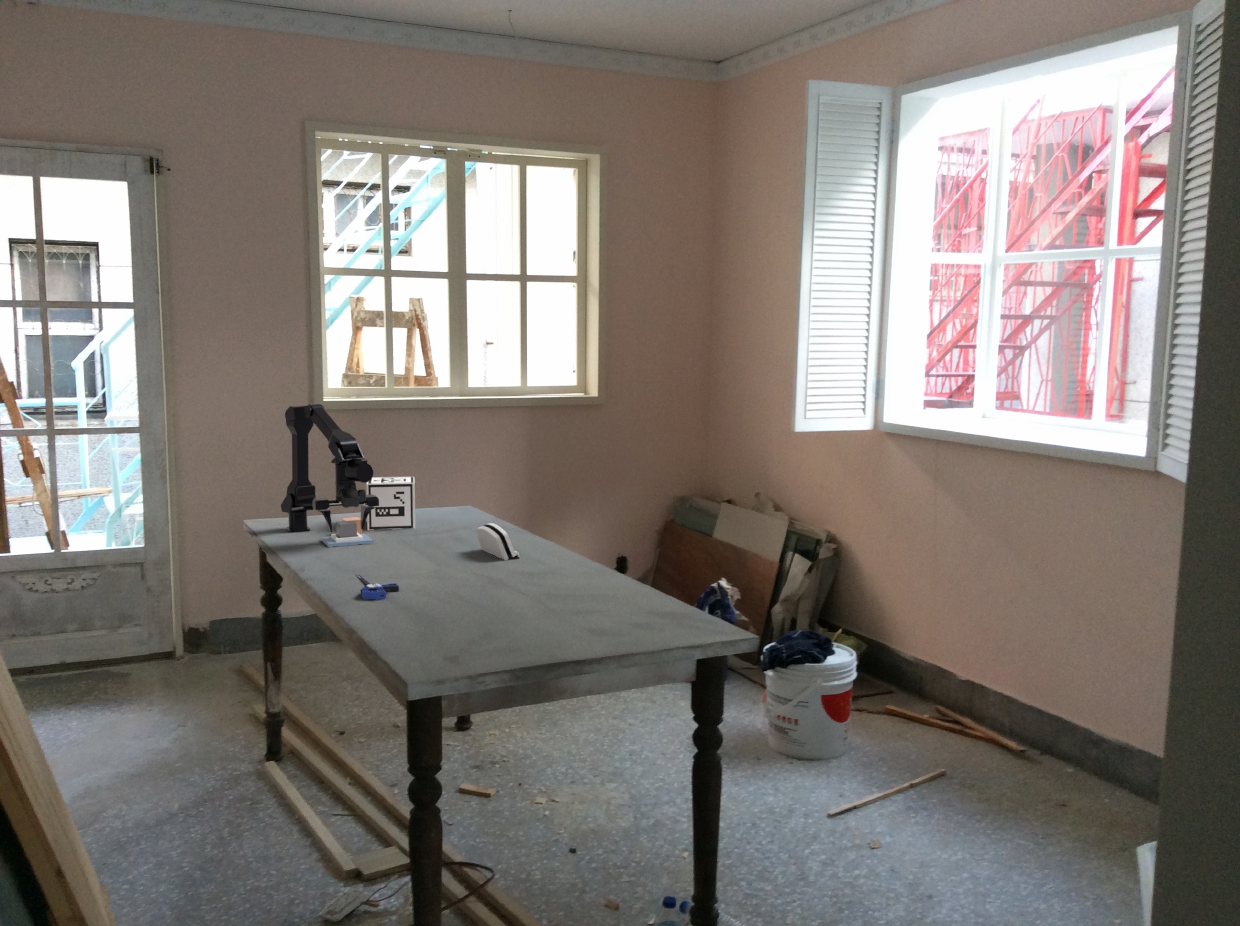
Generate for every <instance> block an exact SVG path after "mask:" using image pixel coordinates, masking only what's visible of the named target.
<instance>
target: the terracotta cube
mask: <svg viewBox="0 0 1240 926" xmlns="http://www.w3.org/2000/svg"><path fill="white" fill-rule="evenodd" d="M351 520H353V521H355V522H356V523H357V532H358V533H359V534H363V530H362V529H361V517H359V516H355V517H353V516H352V517H342V518H341V521H351Z"/></svg>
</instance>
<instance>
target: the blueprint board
mask: <svg viewBox="0 0 1240 926" xmlns="http://www.w3.org/2000/svg"><path fill="white" fill-rule="evenodd" d="M321 542H323V544H325V545H326V546H327V548H334V547H333V546H339V547H347V545H350V546H359V545H358V544H362V545H370V544H369V543H373V544H374V540H373V539H372V538H371V537H370V536H368V535H367V534H366V533H362V534H359V533H358V532H357V537H347V538H338V537H337V533H332V534H330V535H329V536H321Z"/></svg>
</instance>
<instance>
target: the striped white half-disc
mask: <svg viewBox="0 0 1240 926" xmlns="http://www.w3.org/2000/svg"><path fill="white" fill-rule="evenodd" d="M475 532H476V535H477V539H478V542H479V545H480V550H482V551H484V552H486V553H488V554H490V555H492V554H493V556H494V555H495V557H497V558H498V559H501V558H502V559H501V560H503V559H504V560H503V561H508V560H509V558H510V557H511V558H514V557H515V556H517V557H521V556H520V552H519V551H516V550H515V548H514V547H513V544H512V542H511V539H510V537H509V534H508V533H507V532H506V531H505V529H503V528H502V527H501V526H499V525H497V524H496V523H493V522H489V523H486V524H483V525H481V526H479V527H478V528H476V529H475ZM517 557H516V558H517Z"/></svg>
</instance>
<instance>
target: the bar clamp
mask: <svg viewBox="0 0 1240 926" xmlns="http://www.w3.org/2000/svg"><path fill="white" fill-rule="evenodd" d="M357 576H360V577H361V578H359V577H357ZM355 577H357V578H358V579H359V580H360V582H362V583H364V585H365V586H364V587H362V588H361V589H360V598H361V599H362V598H363V599H362V600H367V599H377V600H376V601H380V599H382V600H385V598H386V599H387V593H388V592H389V593H391V592H399V591H400V586H399V585H398V584H397V583H395V582H394V583H386V584H381V583H379V582H375V583H370V582H369V581H368V580H366V579H365V578H363V577H362V576H361V575H360V574H359V573H358V574H355Z"/></svg>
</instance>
